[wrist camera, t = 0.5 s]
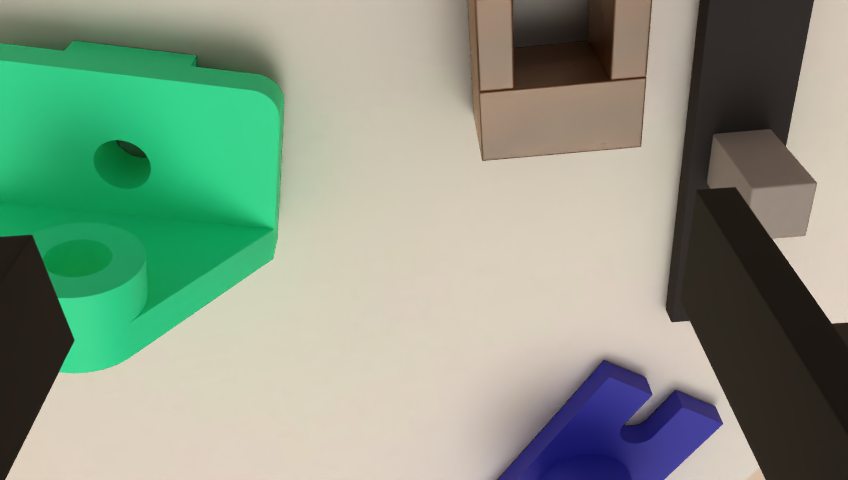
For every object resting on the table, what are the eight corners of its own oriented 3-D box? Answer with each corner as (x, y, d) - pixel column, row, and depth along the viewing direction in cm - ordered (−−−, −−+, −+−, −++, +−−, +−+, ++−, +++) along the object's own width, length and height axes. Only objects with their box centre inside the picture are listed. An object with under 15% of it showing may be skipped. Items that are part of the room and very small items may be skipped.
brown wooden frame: (461, -115, 28) (469, -90, 25) (630, -132, 28) (661, -109, 25) (473, 115, 34) (482, 161, 30) (616, 102, 33) (641, 147, 30)
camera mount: (288, 66, 32) (250, 201, 24) (280, 225, 36) (245, 387, 28) (-26, 28, 31) (-186, 155, 22) (4, 197, 35) (-121, 357, 27)
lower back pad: (707, -66, 30) (763, -23, 25) (815, -77, 30) (892, -35, 25) (665, 309, 40) (700, 388, 35) (746, 302, 40) (791, 381, 35)
